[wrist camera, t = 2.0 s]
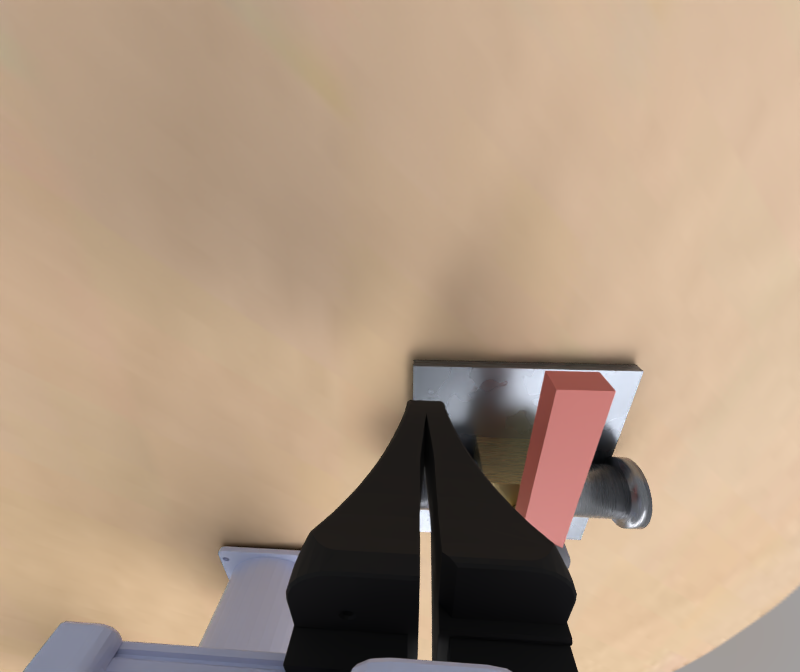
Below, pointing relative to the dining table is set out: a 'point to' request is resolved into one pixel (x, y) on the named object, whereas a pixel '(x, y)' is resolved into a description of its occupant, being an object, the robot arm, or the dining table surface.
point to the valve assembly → (512, 427)
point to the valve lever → (562, 450)
